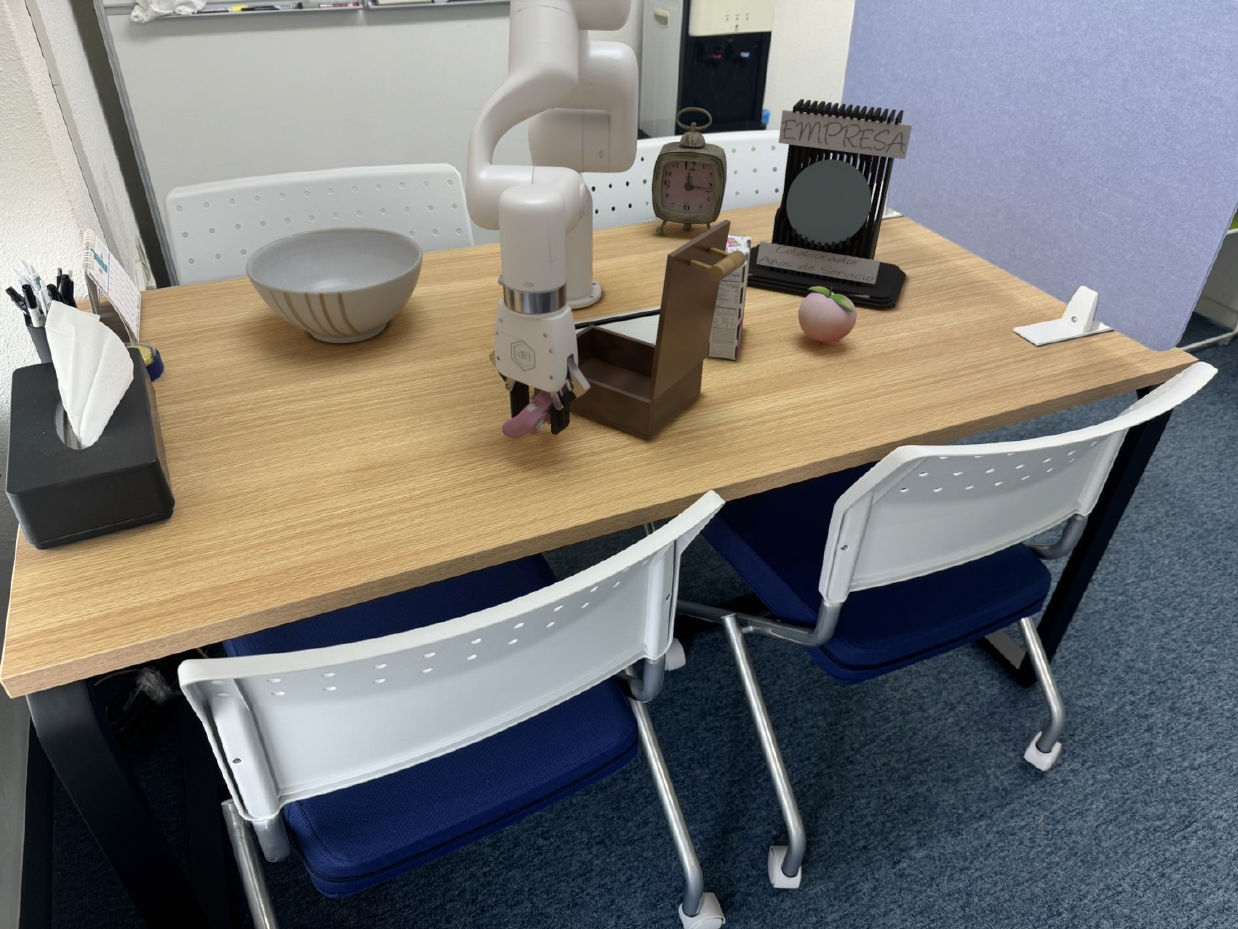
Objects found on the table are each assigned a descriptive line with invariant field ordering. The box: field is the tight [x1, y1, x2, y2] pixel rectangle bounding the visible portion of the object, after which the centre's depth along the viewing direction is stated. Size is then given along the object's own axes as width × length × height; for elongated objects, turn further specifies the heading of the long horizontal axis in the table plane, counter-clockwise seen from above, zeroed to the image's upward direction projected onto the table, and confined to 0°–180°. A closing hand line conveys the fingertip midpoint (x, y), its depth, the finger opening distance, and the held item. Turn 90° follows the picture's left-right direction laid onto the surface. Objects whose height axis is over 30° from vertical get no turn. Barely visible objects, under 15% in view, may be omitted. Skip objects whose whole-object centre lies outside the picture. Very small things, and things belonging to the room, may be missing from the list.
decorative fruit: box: [797, 286, 858, 345], centre depth 138 cm, size 9×8×10 cm
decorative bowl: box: [245, 226, 424, 344], centre depth 140 cm, size 27×27×12 cm
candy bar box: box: [707, 233, 753, 361], centre depth 136 cm, size 11×5×16 cm, turn 168°
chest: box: [533, 324, 704, 442], centre depth 125 cm, size 20×15×6 cm
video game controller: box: [501, 389, 563, 440], centre depth 112 cm, size 10×5×7 cm, turn 147°
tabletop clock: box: [651, 106, 728, 236], centre depth 174 cm, size 14×9×25 cm, turn 80°
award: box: [747, 98, 913, 310], centre depth 154 cm, size 30×19×30 cm, turn 67°
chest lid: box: [648, 219, 746, 401], centre depth 111 cm, size 20×15×6 cm
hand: (540, 421), depth 113 cm, fingers closed on video game controller, 5 cm apart
